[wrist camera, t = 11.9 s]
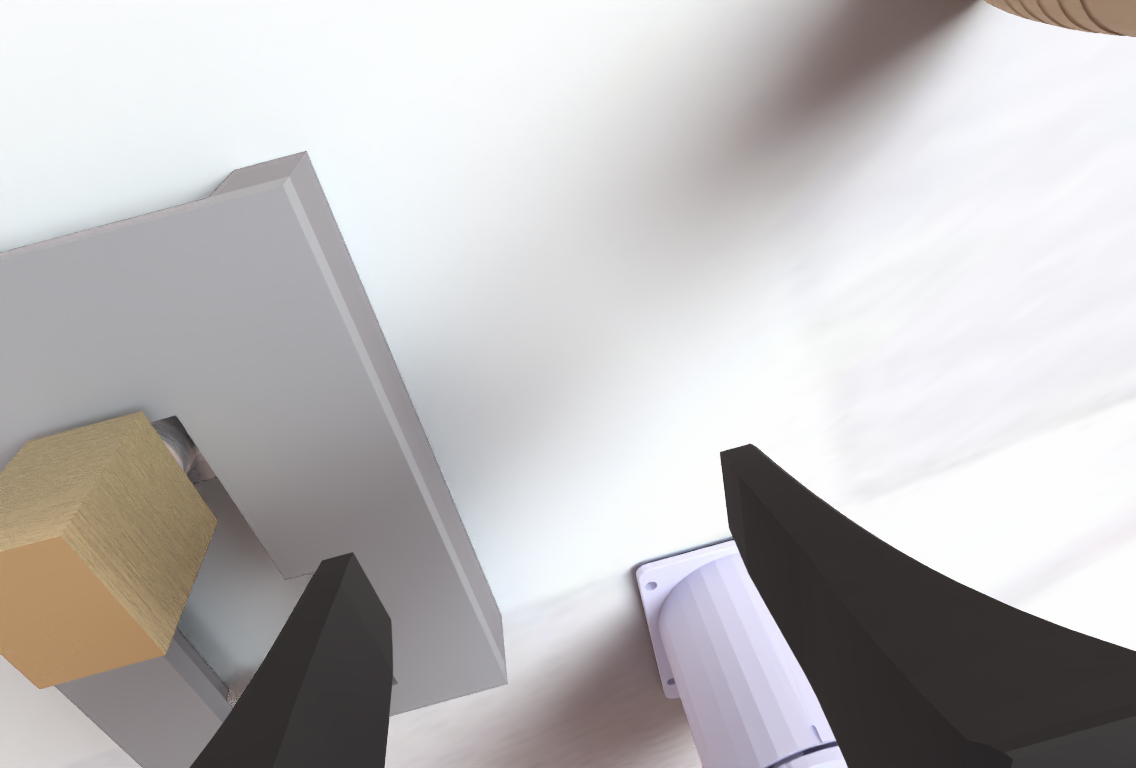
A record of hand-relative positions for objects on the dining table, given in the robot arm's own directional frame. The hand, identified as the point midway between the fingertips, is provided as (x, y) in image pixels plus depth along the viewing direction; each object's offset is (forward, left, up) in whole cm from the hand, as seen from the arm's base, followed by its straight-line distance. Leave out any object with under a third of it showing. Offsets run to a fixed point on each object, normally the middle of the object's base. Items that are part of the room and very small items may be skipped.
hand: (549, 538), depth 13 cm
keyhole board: (-4, +11, -10) cm, 16 cm away
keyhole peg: (0, +11, -10) cm, 15 cm away
